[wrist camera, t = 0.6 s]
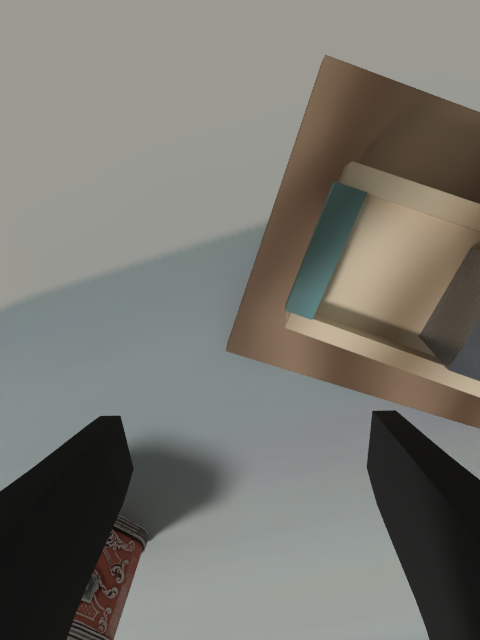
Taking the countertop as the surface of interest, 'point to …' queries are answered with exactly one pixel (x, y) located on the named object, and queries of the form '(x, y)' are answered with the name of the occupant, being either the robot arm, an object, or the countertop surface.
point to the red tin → (109, 583)
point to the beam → (383, 269)
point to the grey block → (458, 321)
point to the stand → (308, 201)
